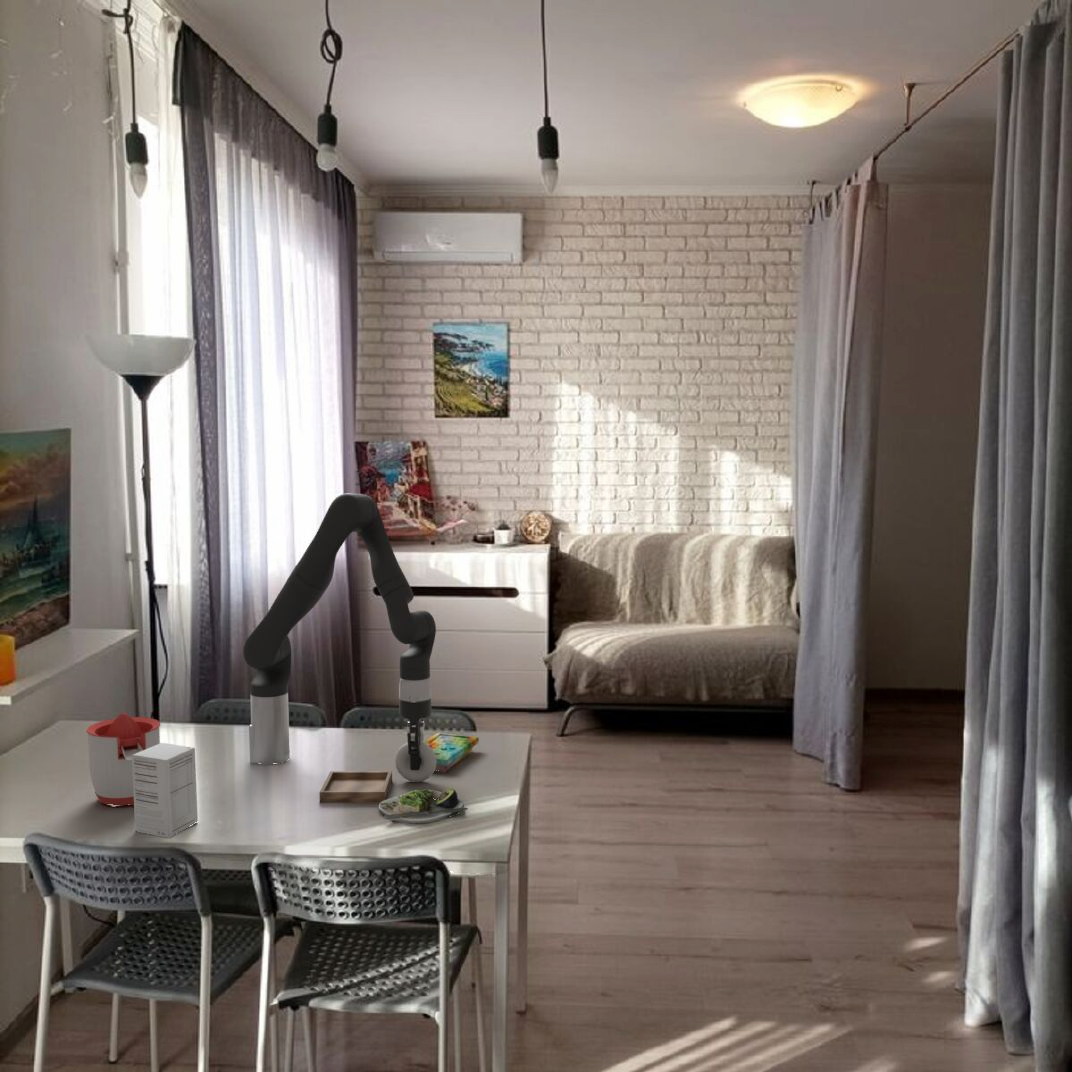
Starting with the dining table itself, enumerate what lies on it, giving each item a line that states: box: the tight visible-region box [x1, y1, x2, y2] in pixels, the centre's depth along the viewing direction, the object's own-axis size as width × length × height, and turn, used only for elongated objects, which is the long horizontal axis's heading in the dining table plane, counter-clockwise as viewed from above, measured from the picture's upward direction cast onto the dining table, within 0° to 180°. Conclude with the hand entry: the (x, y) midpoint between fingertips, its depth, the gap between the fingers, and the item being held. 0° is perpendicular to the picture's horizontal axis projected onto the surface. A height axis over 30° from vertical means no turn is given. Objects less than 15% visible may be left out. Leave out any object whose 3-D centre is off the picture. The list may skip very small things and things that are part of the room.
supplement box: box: [132, 742, 199, 839], centre depth 241 cm, size 10×9×17 cm
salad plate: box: [377, 788, 469, 824], centre depth 251 cm, size 19×18×5 cm
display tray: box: [319, 770, 393, 804], centre depth 264 cm, size 15×15×2 cm
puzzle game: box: [409, 732, 480, 772], centre depth 288 cm, size 12×5×20 cm
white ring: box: [394, 741, 437, 783], centre depth 270 cm, size 10×4×10 cm, turn 80°
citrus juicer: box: [86, 712, 161, 806], centre depth 257 cm, size 16×17×20 cm
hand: (415, 766), depth 270 cm, fingers closed on white ring, 4 cm apart
